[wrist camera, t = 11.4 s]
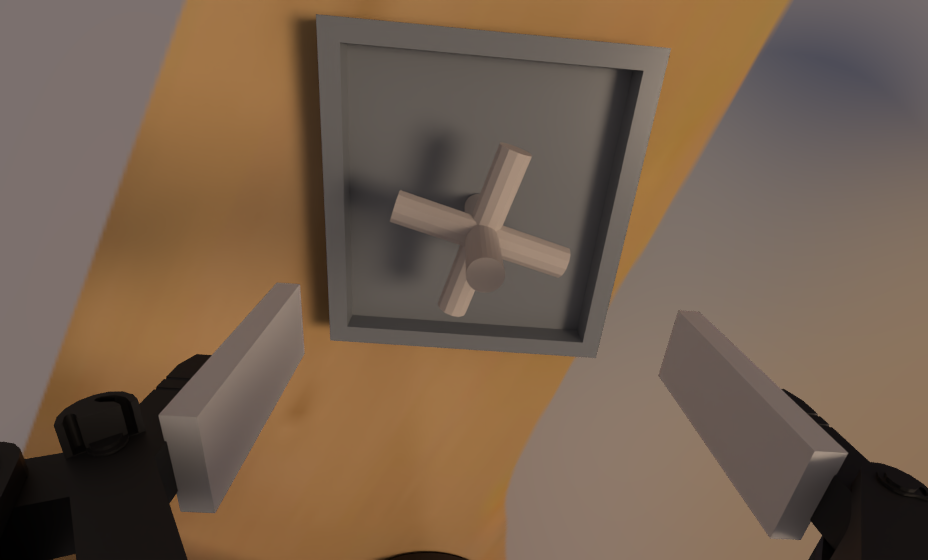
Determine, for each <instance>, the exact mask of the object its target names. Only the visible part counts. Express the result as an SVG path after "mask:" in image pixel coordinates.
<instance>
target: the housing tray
mask: <svg viewBox="0 0 928 560" xmlns="http://www.w3.org/2000/svg"><path fill="white" fill-rule="evenodd" d="M316 27H317V49H318V72H319V94H320V117H321V139H322V161H323V184H324V206H325V229H326V251H327V274H328V296H329V319H330V340H334V341H349V342H364V343H379V344H394V345H409V346H424V347H439V348H454V349H469V350H484V351H499V352H514V353H529V354H544V355H560V356H575V357H590V358H596V355H597V351H598V347H599V343H600V339H601V335H602V331H603V327H604V322H605V318H606V314H607V310H608V306H609V302H610V298H611V294H612V289H613V285H614V281H615V277H616V273H617V269H618V265H619V261H620V256H621V252H622V248H623V244H624V240H625V236H626V232H627V228H628V223H629V219H630V215H631V211H632V207H633V203H634V199H635V195H636V190H637V186H638V182H639V178H640V174H641V170H642V166H643V162H644V157H645V153H646V149H647V145H648V141H649V137H650V133H651V129H652V124H653V120H654V116H655V112H656V108H657V104H658V100H659V96H660V91H661V87H662V83H663V79H664V75H665V71H666V67H667V63H668V58H669V54H670V50H671V48H662V47H652V46H641V45H631V44H620V43H610V42H599V41H589V40H579V39H568V38H558V37H547V36H537V35H526V34H516V33H505V32H495V31H485V30H474V29H464V28H453V27H443V26H432V25H422V24H412V23H401V22H391V21H380V20H370V19H359V18H349V17H338V16H328V15H318V14H316ZM501 142H502V143H507V144H510V145H513V146H516V147H518V148H521V149H523V150H525V151H527V152H529V153H530V154H531V155H532V158H531V160H530V162H529V165H528V167H527V169H526V172H525V174H524V176H523V179H522V181H521V184H520V186H519V188H518V191H517V193H516V195H515V198H514V200H513V202H512V205H511V207H510V209H509V212H508V214H507V217H506V219H505V221H504V224H503V226H506V227H509V228H512V229H515V230H517V231H520V232H523V233H526V234H529V235H532V236H535V237H538V238H541V239H544V240H546V241H549V242H552V243H555V244H558V245H561V246H564V247H567V248H569V249H570V254H571V255H570V260H569V264H568V266H567V269H566V270H565V272H564V273H563V275H562V276H561V277H559V278H558V277H555V276H552V275H548V274H545V273H542V272H539V271H536V270H533V269H530V268H527V267H524V266H521V265H518V264H515V263H512V262H509V261H506V260H503V264H504V269H505V279H504V282H503V283H502V285H501V286H500V287H499V288H498V289H496V290H495V291H492V292H488V293H482V292H478V291H476V290H475V292H474V294H473V297H472V299H471V301H470V304H469V306H468V308H467V311H466V313H465V315H464V316H460V317H456V316H451V315H449V314H446V313H444V312H443V311H442V310H441V309H440V308H439V306H438V301H439V298H440V296H441V293H442V291H443V288H444V286H445V283H446V280H447V278H448V275H449V273H450V270H451V267H452V265H453V262H454V260H455V257H456V255H457V252H458V249H459V247H460V245H458V244H455V243H452V242H449V241H446V240H443V239H440V238H437V237H434V236H431V235H428V234H425V233H422V232H419V231H416V230H413V229H410V228H407V227H404V226H401V225H398V224H395V223H392V222H390V219H391V216H392V212H393V209H394V206H395V203H396V200H397V197H398V194H399V191H400V190H402V191H405V192H407V193H410V194H413V195H416V196H419V197H422V198H425V199H428V200H431V201H434V202H436V203H439V204H442V205H445V206H448V207H451V208H454V209H457V210H460V211H462V212H465V202H466V200H467V199H468V198H469V197H470V196H472V195H474V194H480V193H481V190H482V187H483V185H484V182H485V180H486V177H487V174H488V172H489V169H490V167H491V164H492V162H493V159H494V156H495V154H496V151H497V149H498V146H499V143H501Z"/></svg>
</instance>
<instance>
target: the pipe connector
mask: <svg viewBox="0 0 928 560" xmlns="http://www.w3.org/2000/svg"><path fill="white" fill-rule="evenodd" d="M531 158H532V155H531V154H530V153H529V152H527V151H525V150H523V149H521V148H518V147H516V146H513V145H510V144H507V143H502V142H501V143H499V146H498V149H497V151H496V154H495V156H494V159H493V162H492V164H491V167H490V169H489V172H488V174H487V177H486V180H485V182H484V185H483V187H482V190H481V193H480V194H474V195H472V196H470V197H469V198H468V199H467V200H466V202H465V212H462V211H460V210H457V209H454V208H451V207H448V206H445V205H442V204H439V203H436V202H434V201H431V200H428V199H425V198H422V197H419V196H416V195H413V194H410V193H407V192H405V191H402V190H400V191H399V194H398V197H397V200H396V203H395V206H394V209H393V212H392V216H391V219H390V222H392V223H395V224H398V225H401V226H404V227H407V228H410V229H413V230H416V231H419V232H422V233H425V234H428V235H431V236H434V237H437V238H440V239H443V240H446V241H449V242H452V243H455V244H458V245H460V247H459V249H458V252H457V255H456V257H455V260H454V262H453V265H452V267H451V270H450V273H449V275H448V278H447V280H446V283H445V286H444V288H443V291H442V293H441V296H440V298H439V301H438V306H439V308H440V309H441V310H442V311H443V312H444V313H446V314H449V315H451V316H456V317H460V316H464V315H465V313H466V311H467V308H468V306H469V304H470V301H471V299H472V297H473V294H474V292H475V290H476V291H478V292H482V293H488V292H492V291H495V290H496V289H498V288H499V287H500V286H501V285H502V283H503V282H504V279H505V269H504V264H503V260H506V261H509V262H512V263H515V264H518V265H521V266H524V267H527V268H530V269H533V270H536V271H539V272H542V273H545V274H548V275H552V276H555V277H558V278H559V277H561V276H562V275H563V273H564V272H565V270H566V269H567V266H568V264H569V260H570V255H571V254H570V249H569V248H567V247H564V246H561V245H558V244H555V243H552V242H549V241H546V240H544V239H541V238H538V237H535V236H532V235H529V234H526V233H523V232H520V231H517V230H515V229H512V228H509V227H506V226H503V224H504V221H505V219H506V217H507V214H508V212H509V209H510V207H511V205H512V202H513V200H514V198H515V195H516V193H517V191H518V188H519V186H520V184H521V181H522V179H523V176H524V174H525V172H526V169H527V167H528V165H529V162H530V160H531Z"/></svg>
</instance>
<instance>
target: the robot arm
mask: <svg viewBox="0 0 928 560" xmlns="http://www.w3.org/2000/svg"><path fill="white" fill-rule="evenodd" d="M304 354H305V353H304V338H303V323H302V308H301V293H300V284H289V283H276V284H275V285H274V286H273V288H272V289H271V290H270V291H269V292H268V293H267V294H266V295H265V297H264V298H263V299H262V300H261V301H260V302H259V303H258V304H257V305H256V307H255V308H254V309H253V310H252V311H251V312H250V313H249V314H248V316H247V317H246V318H245V319H244V320H243V321H242V322H241V323H240V324H239V326H238V327H237V328H236V329H235V330H234V331H233V332H232V333H231V335H230V336H229V337H228V338H227V339H226V340H225V341H224V342H223V343H222V345H221V346H220V347H219V348H218V349H217V350H216V351H215V352H214V353H213V355H200V354H196V355H194V356H193V357H191V358H189V359H187V360H186V361H184V362H182V363H180V364H178V365H177V366H176V368H175V369H174V370H173V371H172V372H171V373H170V374H169V375H168V376H167V377H166V379H164V380H163V381H162V382H161V383H160V384H159V385H158V386H157V387H156V390H153V391H152V392H151V393H150V394H149V395H148V396H147V397H146V398H145V399H144V400H143V401H142V402H141V403H140V404H139V402H138V399H137V398H136V397H135V396H134V395H133V394H130V393H126V392H106V393H101V394H96V395H92V396H90V397H87V398H84V399H82V400H79V401H77V402H76V403H74V404H72V405H71V406H69V407H67V408H65V409H64V410H63V411H62V412H61V413H60V414H59V415H58V416H57V418H56V421H55V424H54V428H55V431H56V433H57V436H58V439H59V442H60V445H61V448H62V451H63V453H59V454H53V455H47V456H41V457H35V458H29V459H24V457H23V455H22V452H21V450H20V448H19V447H17V446H16V445H15V444H13V443H7V442H0V560H53V559H55V558H59V557H63V556H68V555H72V554H76V559H77V560H187V557H186V554H185V551H184V548H183V544H182V541H181V538H180V535H179V532H178V529H177V526H176V523H175V520H174V517H173V514H172V511H171V507H170V504H169V503H170V502H171V500H172V499H173V498H174V496H175V495H176V493H177V498H178V502H179V506H180V510H181V512H203V513H215V512H216V511H217V509H218V507H219V505H220V503H221V502H222V500H223V498H224V496H225V495H226V493H227V491H228V489H229V487H230V486H231V484H232V482H233V480H234V479H235V477H236V475H237V473H238V471H239V470H240V468H241V466H242V464H243V462H244V461H245V459H246V457H247V455H248V454H249V452H250V450H251V448H252V446H253V445H254V443H255V441H256V439H257V437H258V436H259V434H260V432H261V430H262V429H263V427H264V425H265V423H266V421H267V420H268V418H269V416H270V414H271V412H272V411H273V409H274V407H275V405H276V404H277V402H278V400H279V398H280V396H281V395H282V393H283V391H284V389H285V388H286V386H287V384H288V382H289V380H290V379H291V377H292V375H293V373H294V371H295V370H296V368H297V366H298V364H299V363H300V361H301V359H302V357H303V355H304ZM659 377H660V378H661V380H662V381H663V383H664V384H665V386H666V387H667V389H668V390H669V392H670V393H671V394H672V396H673V397H674V399H675V400H676V402H677V403H678V405H679V406H680V407H681V409H682V410H683V412H684V413H685V415H686V416H687V418H688V419H689V421H690V422H691V423H692V425H693V427H694V428H695V429H696V431H697V432H698V434H699V435H700V437H701V438H702V440H703V441H704V443H705V444H706V446H707V447H708V448H709V450H710V451H711V453H712V454H713V456H714V457H715V458H716V460H717V462H718V463H719V464H720V466H721V467H722V469H723V470H724V472H725V473H726V475H727V476H728V478H729V479H730V481H731V482H732V483H733V485H734V486H735V488H736V489H737V491H738V492H739V493H740V495H741V497H742V498H743V499H744V501H745V502H746V504H747V505H748V507H749V508H750V510H751V511H752V513H753V514H754V516H755V517H756V518H757V520H758V521H759V523H760V524H761V526H762V527H763V528H764V530H765V531H766V533H767V534H768V536H769V537H770V538H774V539H795V540H801V538H802V536H803V535H804V533H805V531H806V529H807V527H808V525H809V524H810V522H812V523H813V524H814V526H815V527H816V528H817V529H818V531H819V532H820V533H821V534H822V537H821V539H820V540H819V542H818V544H817V546H816V548H815V549H814V551H813V553H812V554H811V556H810V558H809V560H928V488H927V487H926V486H925V485H924V484H922V483H921V482H919V481H918V480H916V479H915V478H913V477H912V476H911V475H909V474H906V473H905V472H903V471H901V470H899V469H897V468H894V467H891V466H888V465H885V464H881V463H874V462H869V461H868V460H867V459H866V458H865V457H864V456H863V455H862V454H860V453H859V452H858V451H857V450H856V449H855V448H854V447H853V446H852V445H851V444H850V443H848V442H847V441H846V440H845V439H844V438H843V437H842V436H841V435H840V434H839V433H838V432H837V431H836V430H834V429H833V428H832V427H829V424H828V423H827V422H826V421H825V420H823V419H822V418H821V417H820V416H819V417H818V416H817V413H816V412H815V411H814V410H813V409H812V408H811V407H809V406H808V405H807V404H806V403H805V402H804V401H802V400H801V399H799V398H798V397H796V396H795V395H793V394H791V393H790V392H788V391H786V390H785V389H780V388H779V387H778V386H777V385H776V384H775V383H774V382H773V381H772V380H771V379H770V378H769V377H768V376H767V375H765V373H763V372H762V371H761V370H760V369H759V368H758V367H757V366H756V365H755V364H754V363H753V362H752V361H751V360H750V359H749V358H747V356H746V355H744V354H743V353H742V352H741V351H740V350H739V349H738V348H737V347H736V346H735V345H734V344H733V343H732V342H731V341H730V340H729V339H728V338H727V337H725V336H724V335H723V334H722V333H721V332H720V331H719V330H718V329H717V328H716V327H715V326H714V325H713V324H712V323H711V322H709V320H708V319H707V318H705V317H704V316H703V315H702V314H701V313H700V312H695V311H680V310H679V311H678V313H677V317H676V320H675V323H674V326H673V330H672V333H671V336H670V340H669V343H668V346H667V350H666V353H665V356H664V359H663V362H662V366H661V369H660V373H659ZM390 560H465V559H463V558H460V557H456V556H452V555H447V554H440V553H415V554H408V555H403V556H399V557H396V558H393V559H390Z"/></svg>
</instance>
